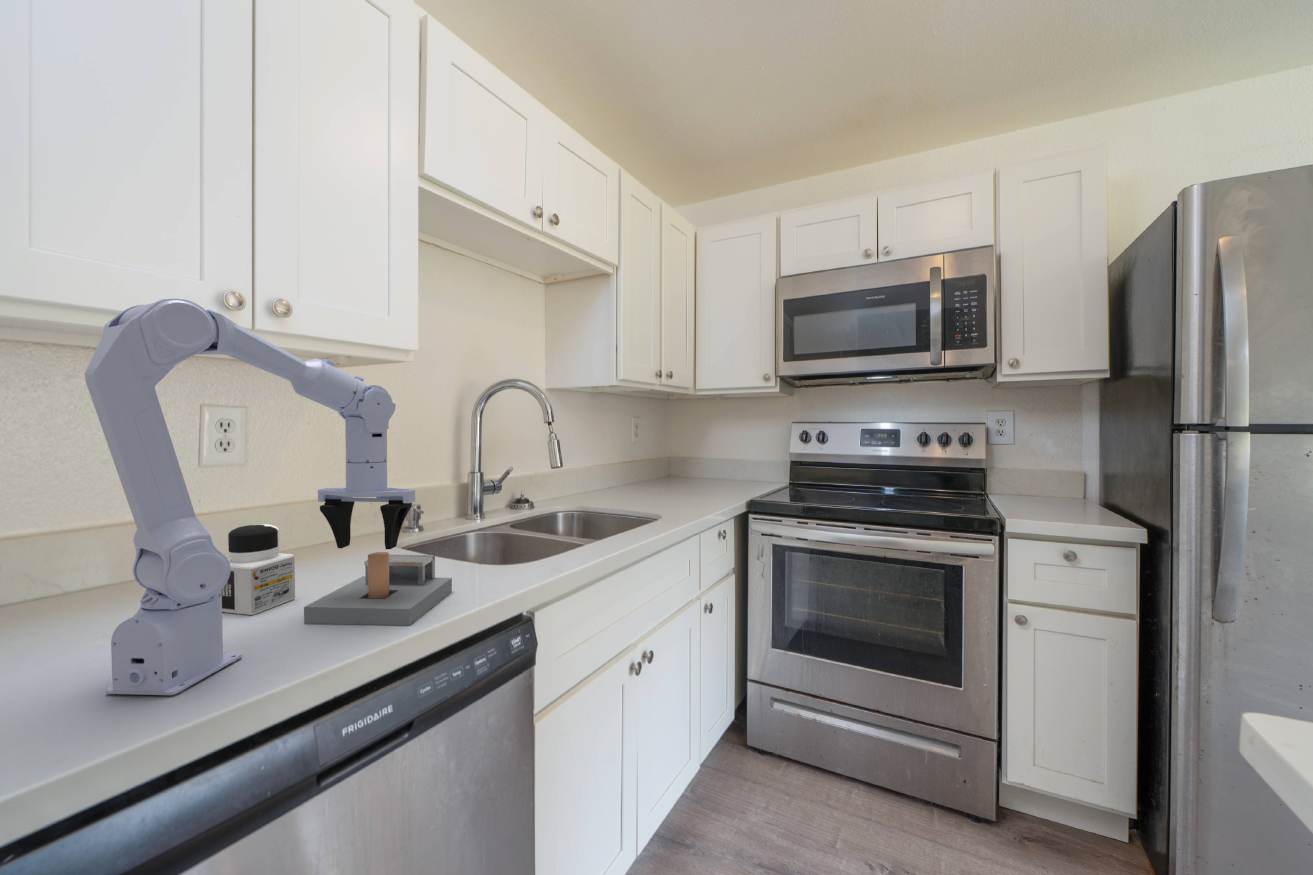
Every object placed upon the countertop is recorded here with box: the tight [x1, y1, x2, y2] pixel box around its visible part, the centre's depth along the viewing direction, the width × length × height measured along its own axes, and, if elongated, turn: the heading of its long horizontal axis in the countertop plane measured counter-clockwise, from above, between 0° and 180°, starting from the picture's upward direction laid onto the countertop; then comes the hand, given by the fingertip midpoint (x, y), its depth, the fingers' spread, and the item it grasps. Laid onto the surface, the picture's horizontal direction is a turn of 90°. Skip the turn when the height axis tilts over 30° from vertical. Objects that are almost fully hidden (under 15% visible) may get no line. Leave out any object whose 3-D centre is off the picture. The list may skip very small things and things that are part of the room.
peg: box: [367, 551, 390, 599], centre depth 83 cm, size 3×3×9 cm
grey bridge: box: [363, 553, 436, 586], centre depth 90 cm, size 4×10×4 cm, turn 89°
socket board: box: [303, 575, 453, 626], centre depth 85 cm, size 15×16×2 cm
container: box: [222, 523, 296, 616], centre depth 85 cm, size 8×8×13 cm
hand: (367, 547), depth 82 cm, fingers open, 7 cm apart
